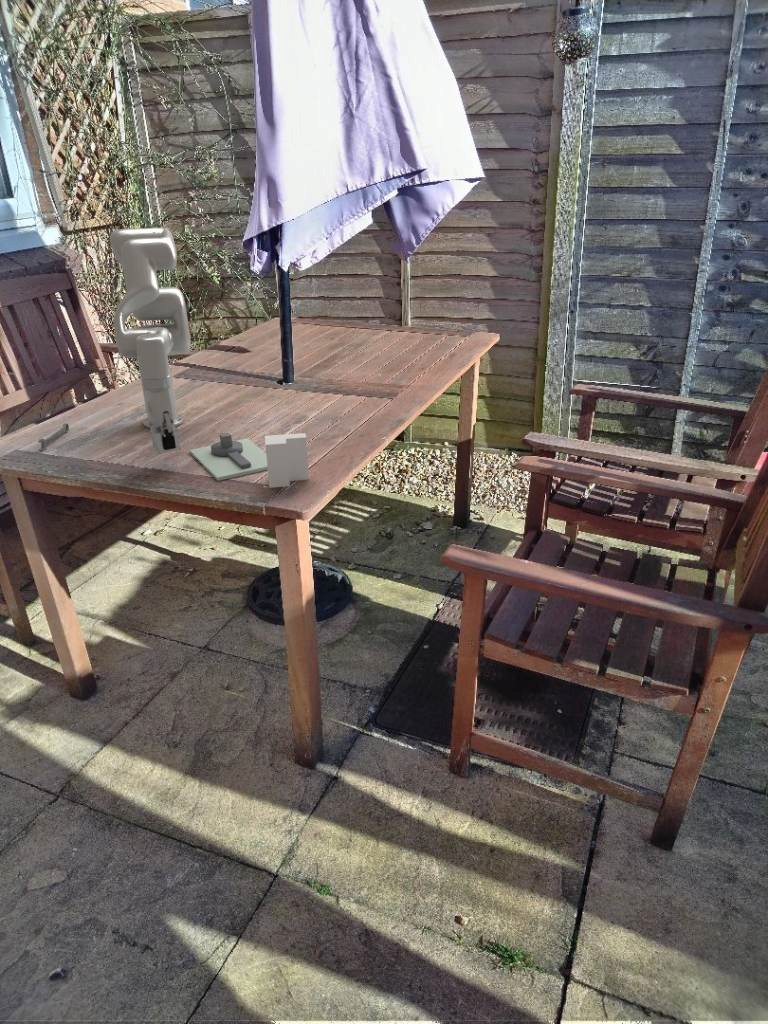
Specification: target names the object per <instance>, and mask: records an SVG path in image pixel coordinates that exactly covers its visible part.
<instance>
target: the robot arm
mask: <svg viewBox="0 0 768 1024" xmlns="http://www.w3.org/2000/svg"><path fill="white" fill-rule="evenodd" d="M109 242H110V246H111V249H112V252H113V254H114V255H115V256H114V257H116V259H117V260H118V263H119V264H120V266H121V268H122V269H123V277H124V283H125V289H126V294H125V295H124V296H123V298H122V299H121V300H120V302H119V303H118V305H117V307H116V309H115V312H114V317H113V325H114V326H113V327H114V328H113V329H114V335H115V342H116V347H117V350H118V352H119V354H120V355H121V356H122V357H124V358H126V359H134V358H136V359H137V364H138V368H139V373H140V380H141V386H142V387H141V389H142V393H143V399H144V404H145V405H144V406H145V411H146V416H147V418H145V419H144V420H143V422H142V423H143V426H144V427H145V428H147V429H150V426H156V427H158V428H159V427H160V426H161V430H162V434H163V436H162V441H163V447H164V450H170V449H174V448H176V445H175V438H174V432H173V426H172V425H174V426H175V427H177V426H180V425H182V424H183V423H184V417H183V416H182V415H180V414H178V409H177V400H176V394H175V387H174V382H173V374H172V369H171V367H170V364H169V356H176V355H178V356H179V355H183V354H184V355H185V354H188V353H189V352H190V350H191V345H192V344H191V343H192V341H191V334H190V333H191V332H190V328H189V327H190V326H189V320H188V313H187V305H186V301H185V296H184V294H183V293H182V291H181V290H180V288H179V287H173V286H162V287H159V281H158V276H157V271H167V270H174V269H175V268H176V267H177V264H178V255H177V254H178V253H177V247H176V244H175V239H174V236H173V233H172V232H171V230H170V229H169V228H167V227H133V228H132V227H131V228H122V229H116V230H114V231H112V232H111V233H110V235H109ZM132 314H133V317H134V318H135V319H136V320H138V321H143V322H145V321H146V322H149V321H150V322H151V321H164V320H165V321H167V320H170V321H172V322H173V323H161V324H160V323H159V324H158V323H157V324H156V323H155V324H146V325H140V326H137V327H136V328H126V321H127V319H128V318H129V317H130V316H131V315H132ZM163 424H166V425H163ZM164 427H167V429H165V430H164Z"/></svg>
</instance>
